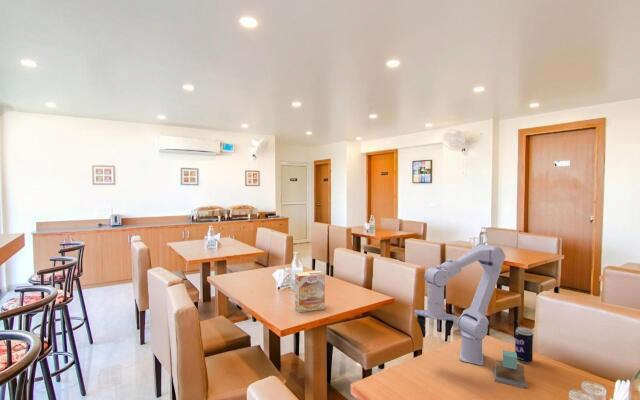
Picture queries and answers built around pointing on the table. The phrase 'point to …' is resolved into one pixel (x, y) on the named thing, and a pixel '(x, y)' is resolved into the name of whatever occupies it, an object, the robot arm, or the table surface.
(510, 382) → the plate
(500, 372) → the walnut brick
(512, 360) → the cube
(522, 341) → the beverage can
